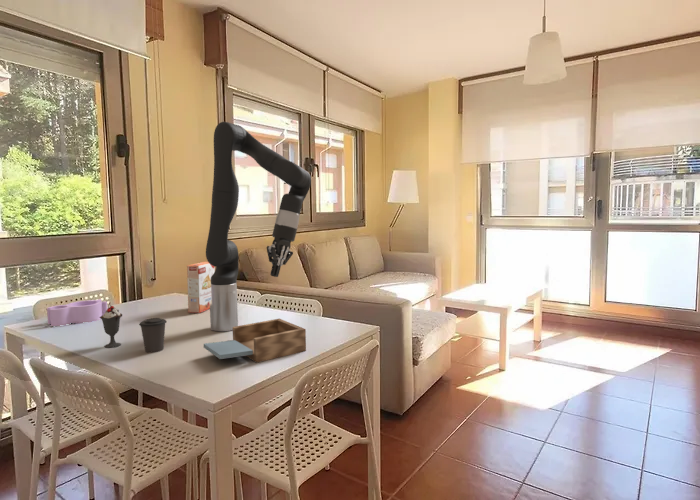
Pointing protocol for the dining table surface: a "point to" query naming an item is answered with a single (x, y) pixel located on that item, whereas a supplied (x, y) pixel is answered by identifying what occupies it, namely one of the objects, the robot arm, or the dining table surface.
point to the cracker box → (199, 286)
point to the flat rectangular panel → (228, 349)
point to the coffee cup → (153, 334)
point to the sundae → (111, 325)
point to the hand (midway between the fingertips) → (274, 276)
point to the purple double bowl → (76, 312)
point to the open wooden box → (271, 339)
